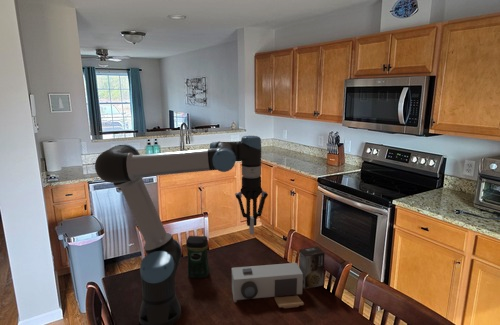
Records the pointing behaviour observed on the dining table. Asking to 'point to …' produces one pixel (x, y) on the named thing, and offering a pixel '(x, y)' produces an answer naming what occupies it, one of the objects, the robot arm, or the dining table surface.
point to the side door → (289, 301)
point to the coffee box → (312, 266)
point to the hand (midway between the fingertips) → (251, 232)
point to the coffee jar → (197, 256)
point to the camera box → (266, 281)
